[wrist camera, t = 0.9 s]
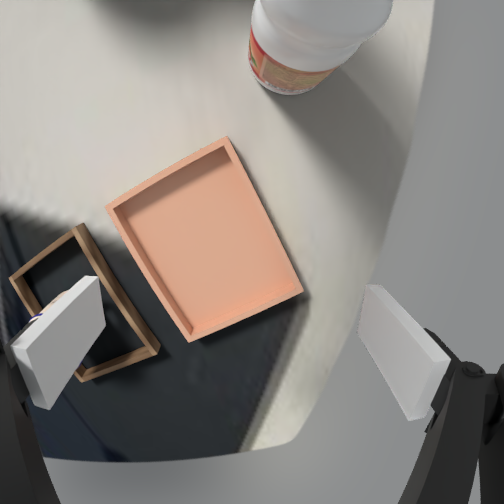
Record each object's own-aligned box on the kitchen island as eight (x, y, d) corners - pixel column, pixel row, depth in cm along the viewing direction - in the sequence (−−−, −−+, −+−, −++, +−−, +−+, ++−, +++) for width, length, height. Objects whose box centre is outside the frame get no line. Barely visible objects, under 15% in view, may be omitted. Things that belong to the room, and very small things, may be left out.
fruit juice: (284, 111, 35) (387, 19, 8) (231, 57, 32) (217, -107, 6) (339, 68, 33) (486, -33, 6) (288, 17, 31) (355, -140, 4)
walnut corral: (16, 272, 39) (8, 278, 37) (83, 222, 38) (75, 226, 35) (86, 374, 45) (81, 382, 43) (160, 344, 43) (157, 354, 41)
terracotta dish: (113, 202, 37) (104, 206, 34) (227, 137, 35) (226, 135, 33) (191, 331, 43) (188, 342, 40) (300, 282, 41) (304, 291, 39)
